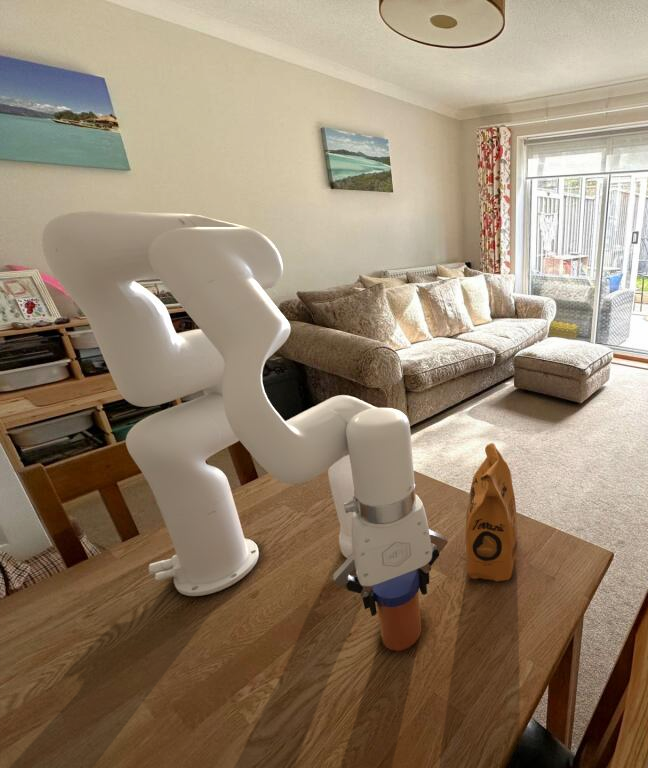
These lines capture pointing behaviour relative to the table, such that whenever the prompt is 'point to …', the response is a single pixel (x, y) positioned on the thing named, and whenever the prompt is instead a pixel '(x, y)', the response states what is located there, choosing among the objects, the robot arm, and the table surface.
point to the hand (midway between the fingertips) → (397, 596)
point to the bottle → (343, 500)
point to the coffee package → (491, 520)
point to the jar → (400, 624)
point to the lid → (397, 589)
